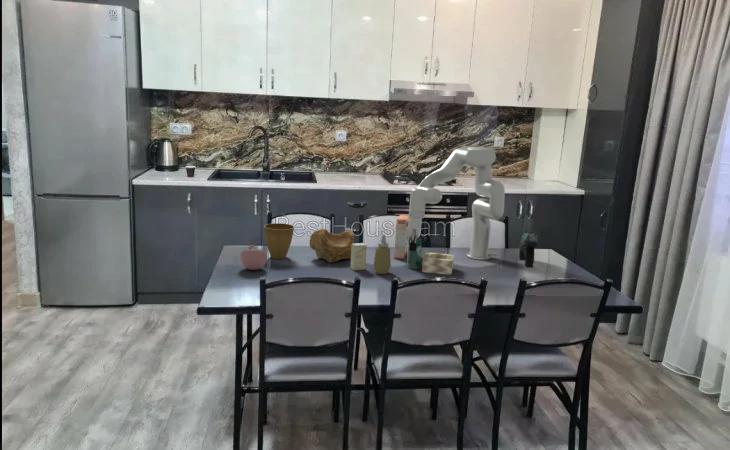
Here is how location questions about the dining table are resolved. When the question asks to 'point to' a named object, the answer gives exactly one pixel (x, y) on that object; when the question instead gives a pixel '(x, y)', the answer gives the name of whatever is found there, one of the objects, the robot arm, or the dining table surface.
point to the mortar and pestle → (253, 258)
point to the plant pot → (278, 239)
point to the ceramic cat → (528, 248)
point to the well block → (438, 263)
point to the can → (414, 255)
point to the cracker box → (401, 236)
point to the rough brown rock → (332, 245)
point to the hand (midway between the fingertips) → (413, 248)
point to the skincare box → (358, 256)
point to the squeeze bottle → (382, 257)
